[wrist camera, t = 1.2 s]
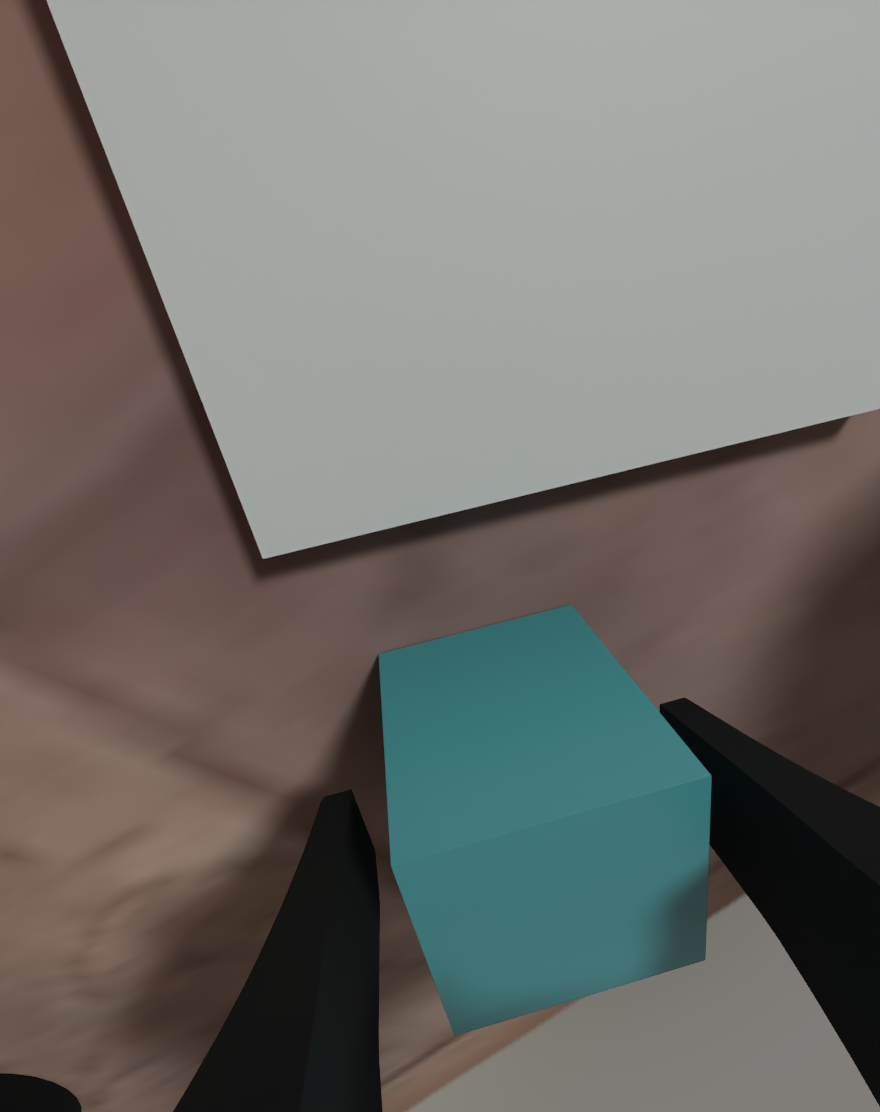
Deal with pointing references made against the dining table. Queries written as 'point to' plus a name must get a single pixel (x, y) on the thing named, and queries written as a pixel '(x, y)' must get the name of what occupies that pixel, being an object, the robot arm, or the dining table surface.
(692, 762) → the turquoise box
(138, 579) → the dining table surface
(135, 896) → the dining table surface
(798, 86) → the post board
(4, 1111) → the cup
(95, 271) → the dining table surface
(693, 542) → the dining table surface
